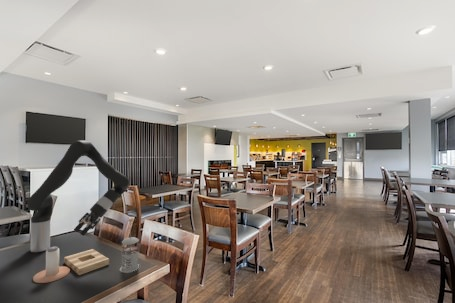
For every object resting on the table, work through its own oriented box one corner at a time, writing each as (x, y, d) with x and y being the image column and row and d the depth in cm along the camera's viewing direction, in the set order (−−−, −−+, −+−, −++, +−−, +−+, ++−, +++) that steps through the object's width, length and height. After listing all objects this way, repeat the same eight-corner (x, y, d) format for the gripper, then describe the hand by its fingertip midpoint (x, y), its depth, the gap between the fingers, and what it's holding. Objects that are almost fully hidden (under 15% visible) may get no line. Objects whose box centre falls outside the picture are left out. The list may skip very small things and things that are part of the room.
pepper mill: (44, 273, 112) (44, 248, 112) (57, 269, 116) (57, 245, 116) (47, 277, 109) (47, 251, 109) (60, 272, 113) (61, 247, 113)
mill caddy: (64, 262, 125) (64, 257, 125) (92, 254, 136) (92, 248, 136) (79, 275, 112) (79, 268, 112) (108, 264, 123) (109, 258, 123)
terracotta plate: (29, 276, 111) (29, 274, 111) (64, 265, 122) (64, 263, 122) (37, 286, 102) (37, 284, 102) (74, 274, 113) (74, 272, 113)
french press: (127, 274, 113) (128, 222, 113) (113, 268, 119) (113, 218, 119) (144, 266, 121) (144, 217, 121) (130, 260, 127) (130, 214, 128)
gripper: (91, 200, 132) (67, 226, 123) (102, 204, 123) (77, 232, 114) (101, 208, 136) (78, 233, 127) (112, 212, 127) (89, 239, 118)
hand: (78, 232), depth 121 cm, fingers open, 8 cm apart
